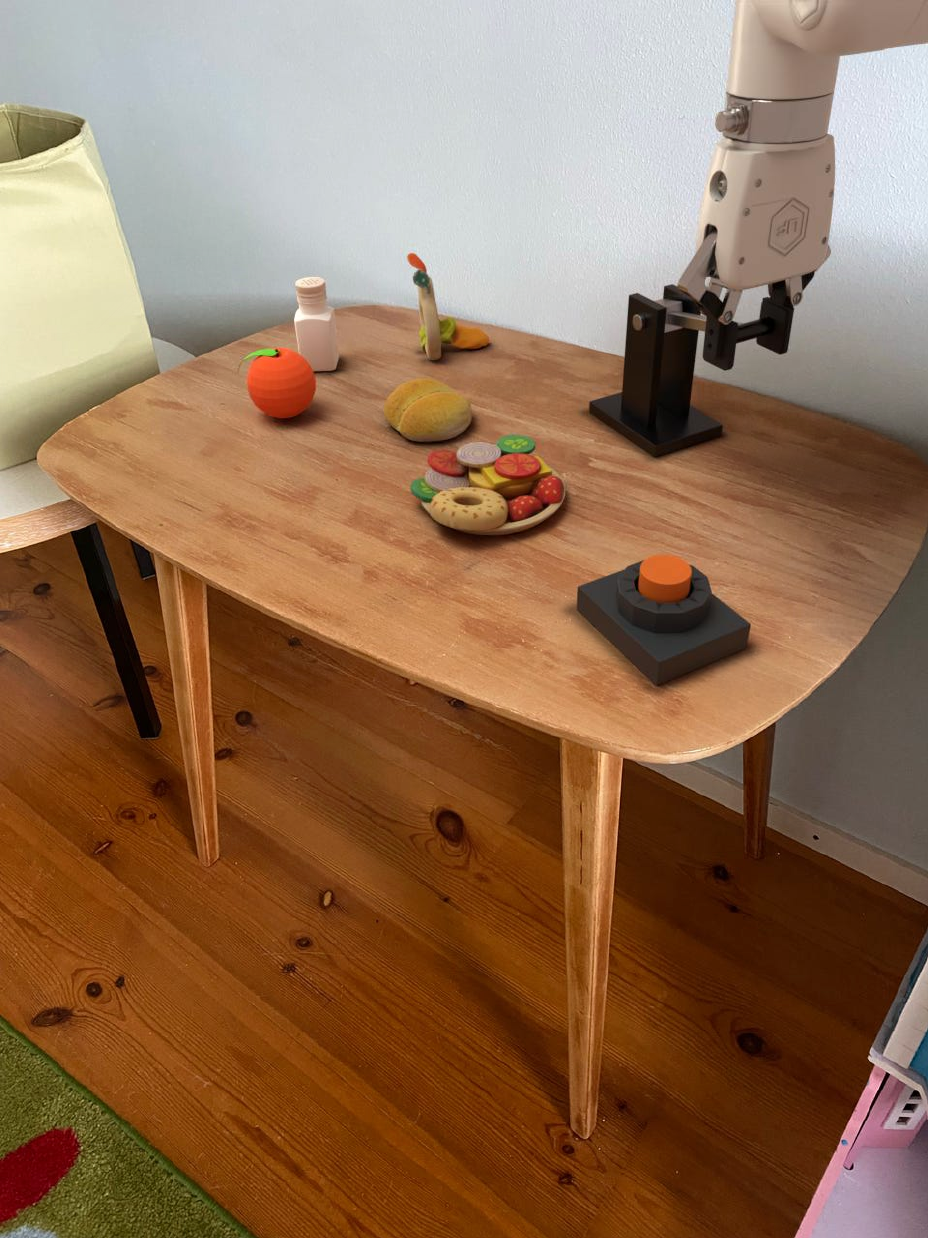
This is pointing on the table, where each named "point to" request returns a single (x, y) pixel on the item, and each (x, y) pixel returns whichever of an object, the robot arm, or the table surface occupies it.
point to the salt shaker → (316, 325)
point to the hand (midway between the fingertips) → (744, 354)
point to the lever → (698, 322)
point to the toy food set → (490, 487)
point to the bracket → (657, 381)
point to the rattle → (436, 329)
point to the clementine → (280, 382)
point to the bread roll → (427, 411)
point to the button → (664, 579)
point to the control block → (663, 624)
